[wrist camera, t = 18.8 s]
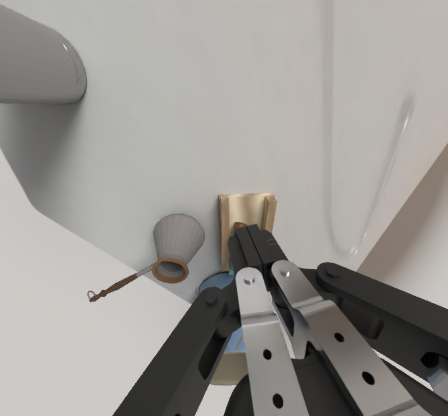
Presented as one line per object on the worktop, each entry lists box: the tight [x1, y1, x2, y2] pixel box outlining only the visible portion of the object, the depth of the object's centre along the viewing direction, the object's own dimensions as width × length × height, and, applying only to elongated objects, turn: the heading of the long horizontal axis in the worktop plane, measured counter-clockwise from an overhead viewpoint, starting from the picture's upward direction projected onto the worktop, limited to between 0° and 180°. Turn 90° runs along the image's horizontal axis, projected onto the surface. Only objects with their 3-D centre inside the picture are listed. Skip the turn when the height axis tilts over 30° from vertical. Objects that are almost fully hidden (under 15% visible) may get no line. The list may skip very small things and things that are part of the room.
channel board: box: [219, 193, 277, 275], centre depth 41 cm, size 12×20×5 cm, turn 1°
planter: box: [199, 273, 248, 385], centre depth 46 cm, size 19×19×20 cm
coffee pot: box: [87, 214, 205, 302], centre depth 36 cm, size 21×12×15 cm, turn 106°
